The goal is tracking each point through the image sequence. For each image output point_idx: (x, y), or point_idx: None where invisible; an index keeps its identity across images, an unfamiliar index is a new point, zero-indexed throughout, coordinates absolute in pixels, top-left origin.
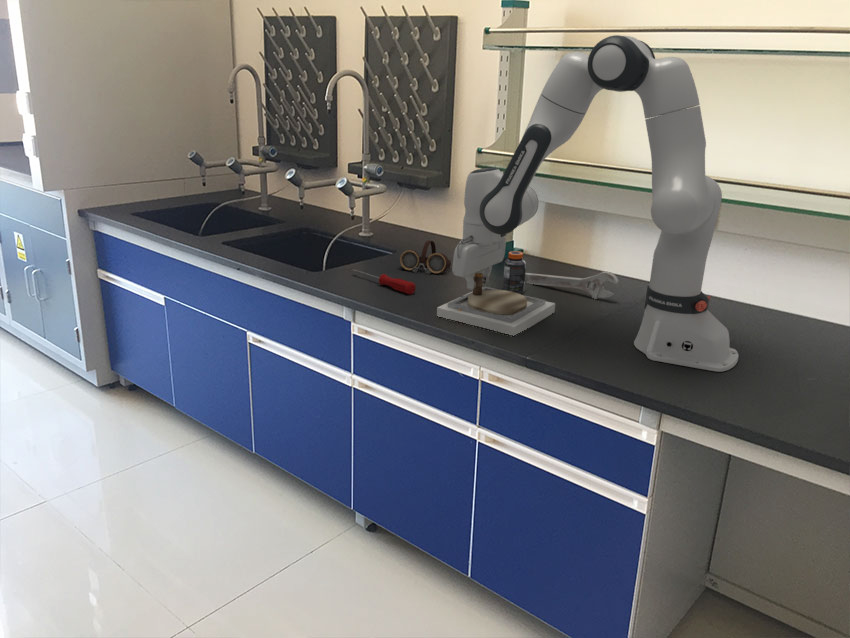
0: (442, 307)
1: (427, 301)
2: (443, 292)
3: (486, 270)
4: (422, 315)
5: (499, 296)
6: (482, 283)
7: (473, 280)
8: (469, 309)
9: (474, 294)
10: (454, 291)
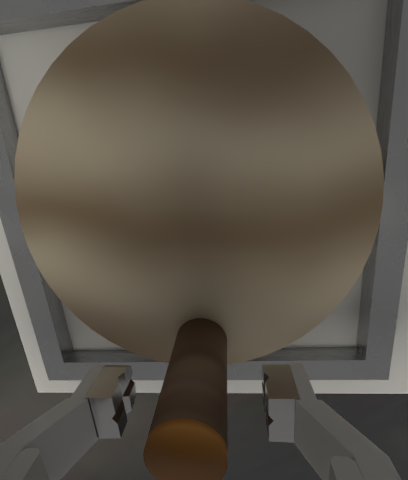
0: (396, 378)
1: (254, 457)
2: (140, 463)
3: (47, 460)
4: (400, 403)
5: (146, 230)
6: (176, 368)
7: (322, 419)
8: (402, 257)
9: (226, 344)
10: (103, 445)
